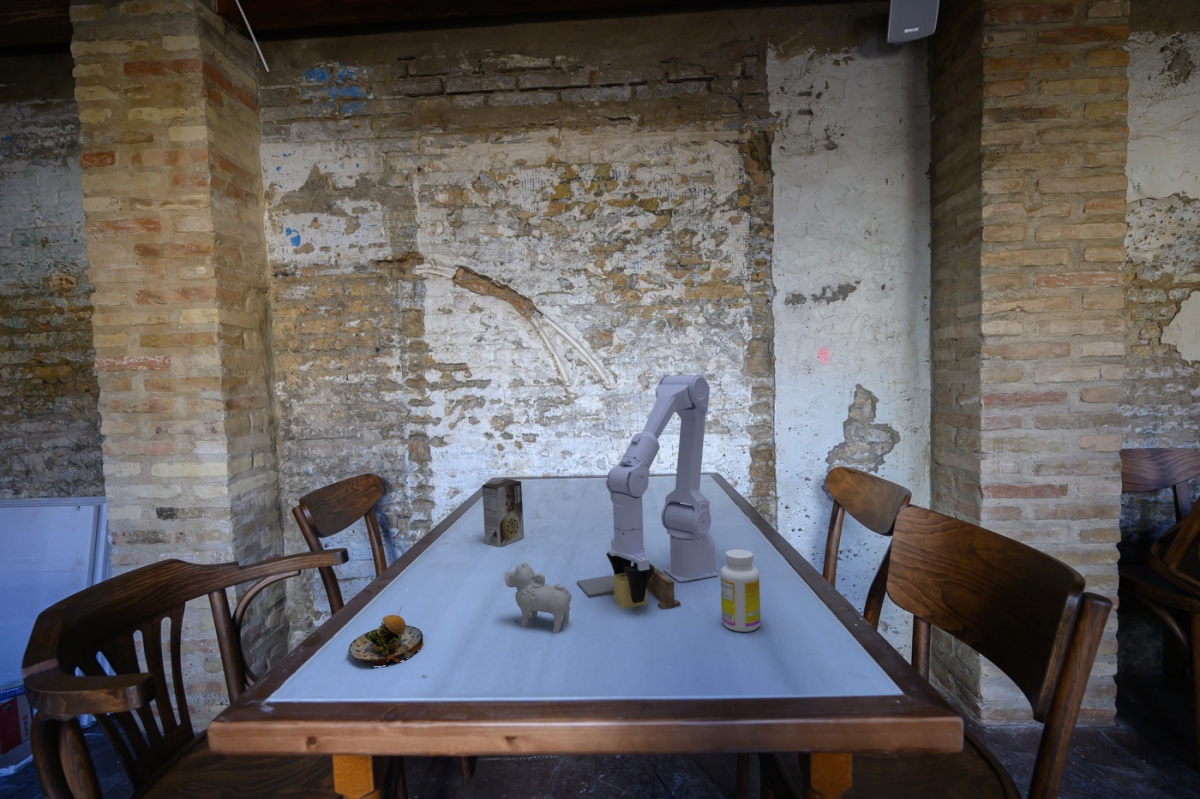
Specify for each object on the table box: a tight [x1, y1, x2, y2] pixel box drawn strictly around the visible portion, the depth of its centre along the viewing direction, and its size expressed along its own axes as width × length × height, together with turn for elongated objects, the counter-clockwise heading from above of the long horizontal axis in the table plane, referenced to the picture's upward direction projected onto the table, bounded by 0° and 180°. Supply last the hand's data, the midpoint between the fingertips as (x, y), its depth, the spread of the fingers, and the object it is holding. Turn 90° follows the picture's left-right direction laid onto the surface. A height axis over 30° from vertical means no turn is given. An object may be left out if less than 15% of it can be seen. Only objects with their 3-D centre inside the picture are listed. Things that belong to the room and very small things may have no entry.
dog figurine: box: [504, 561, 572, 634], centre depth 102 cm, size 5×13×11 cm, turn 69°
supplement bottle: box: [720, 549, 761, 633], centre depth 98 cm, size 7×7×13 cm
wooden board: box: [647, 562, 682, 610], centre depth 112 cm, size 12×4×5 cm, turn 20°
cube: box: [613, 573, 648, 610], centre depth 110 cm, size 5×5×5 cm
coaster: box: [576, 574, 614, 599], centre depth 117 cm, size 8×8×1 cm
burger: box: [347, 605, 424, 668], centre depth 94 cm, size 12×12×8 cm
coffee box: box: [481, 478, 525, 548], centre depth 151 cm, size 9×6×16 cm
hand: (630, 594), depth 110 cm, fingers open, 7 cm apart
